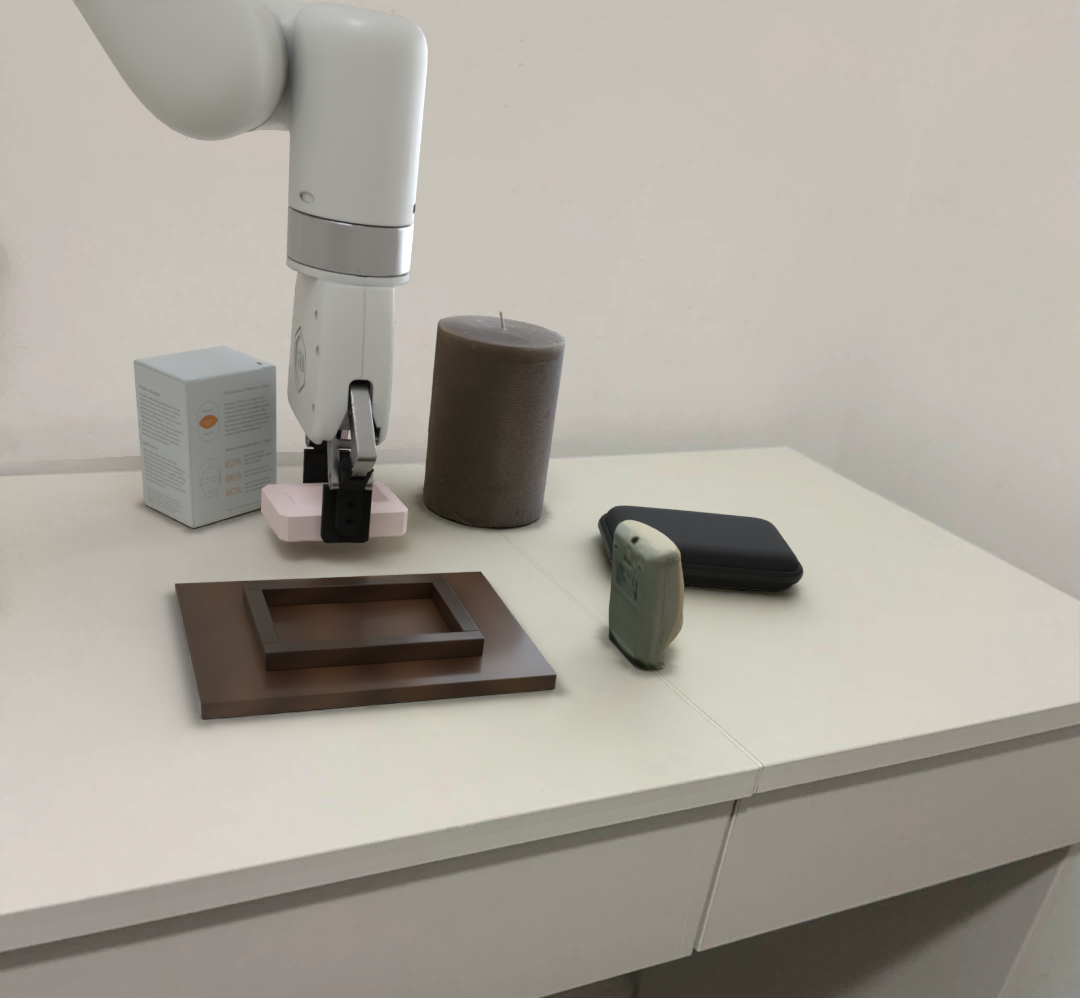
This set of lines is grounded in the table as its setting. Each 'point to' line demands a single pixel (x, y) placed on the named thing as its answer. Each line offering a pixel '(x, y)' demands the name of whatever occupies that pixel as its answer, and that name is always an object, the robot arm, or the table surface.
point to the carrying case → (716, 547)
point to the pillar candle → (491, 419)
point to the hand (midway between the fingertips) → (334, 519)
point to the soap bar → (301, 509)
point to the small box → (206, 433)
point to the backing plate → (352, 642)
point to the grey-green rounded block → (645, 594)
